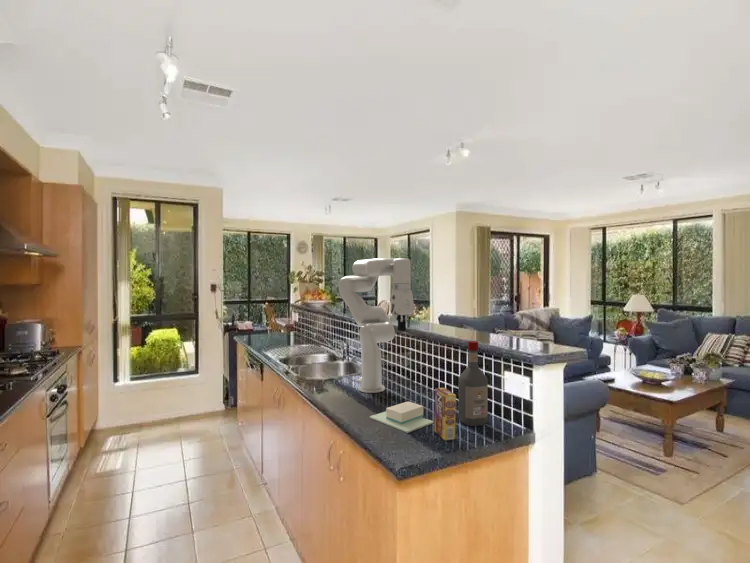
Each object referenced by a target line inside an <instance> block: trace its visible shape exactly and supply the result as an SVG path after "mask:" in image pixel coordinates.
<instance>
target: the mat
mask: <svg viewBox="0 0 750 563" xmlns="http://www.w3.org/2000/svg"><path fill="white" fill-rule="evenodd" d="M369 419H371V420H374V421H376V422H378V423H381V424H384V425H386V426H388V427H391V428H394V429H397V430H399V431H401V432H404V433H407V434H408V433H411V432H413V431H417V430H419V429H422V428H424V427H427V426H429V425H432V424H435V420H434V421H433V420H431V419H427V418H425V417H421V418H418V419H415V420H412V421H409V422H407V423H404V424H399V423H397V422H394V421H391V420H389V419H386V410H385V411H382V412H379V413H376V414H373V415H370V416H369Z"/></svg>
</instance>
